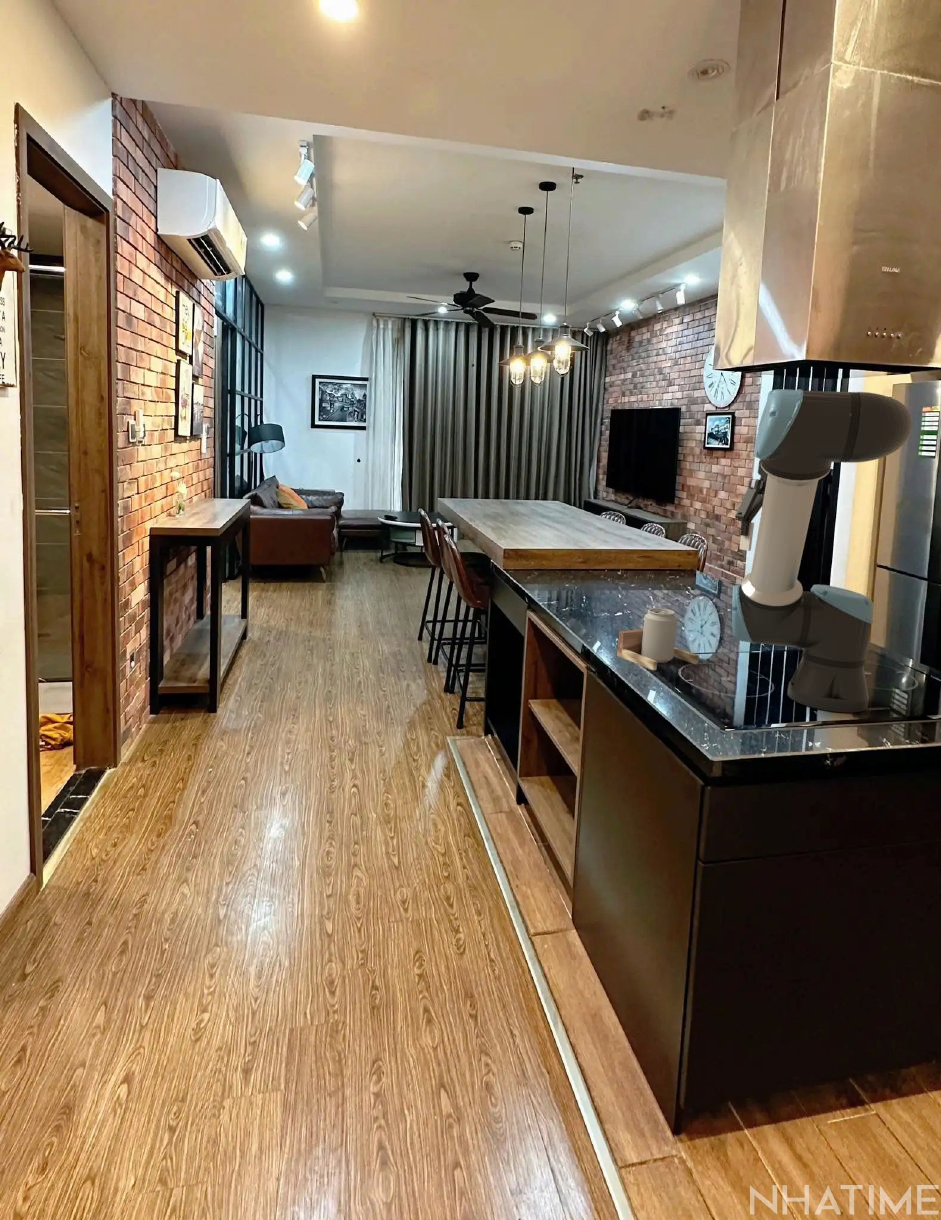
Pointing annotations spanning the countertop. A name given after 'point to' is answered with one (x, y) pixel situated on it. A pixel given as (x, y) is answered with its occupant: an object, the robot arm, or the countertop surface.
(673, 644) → the can
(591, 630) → the countertop surface
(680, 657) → the wooden bracket
